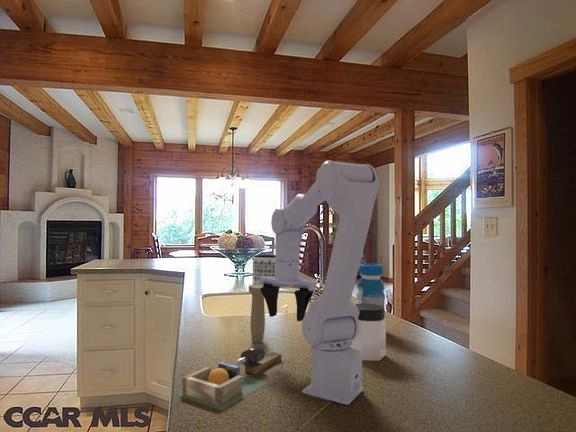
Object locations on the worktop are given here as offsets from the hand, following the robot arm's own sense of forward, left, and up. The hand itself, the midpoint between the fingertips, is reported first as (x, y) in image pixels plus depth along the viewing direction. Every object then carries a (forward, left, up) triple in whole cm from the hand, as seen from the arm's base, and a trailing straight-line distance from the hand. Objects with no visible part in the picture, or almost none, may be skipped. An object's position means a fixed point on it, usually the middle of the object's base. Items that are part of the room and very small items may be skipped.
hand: (286, 318), depth 93 cm
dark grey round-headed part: (+2, +14, -9) cm, 17 cm away
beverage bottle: (-8, -36, -10) cm, 38 cm away
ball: (+2, +22, -8) cm, 23 cm away
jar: (-15, -14, -10) cm, 23 cm away
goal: (+2, +23, -10) cm, 25 cm away
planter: (+69, -94, -10) cm, 117 cm away
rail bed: (+2, +6, -10) cm, 12 cm away
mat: (+2, +21, -10) cm, 23 cm away
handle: (+14, -8, -10) cm, 19 cm away
